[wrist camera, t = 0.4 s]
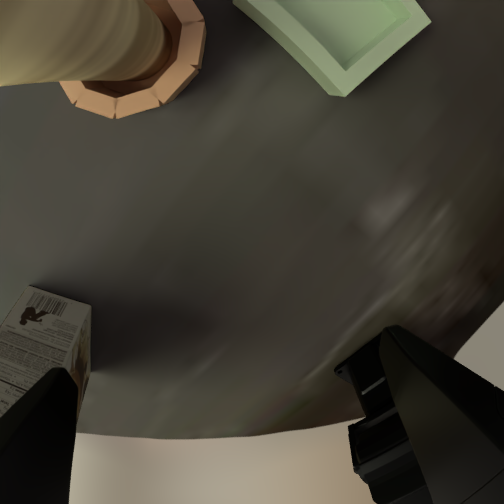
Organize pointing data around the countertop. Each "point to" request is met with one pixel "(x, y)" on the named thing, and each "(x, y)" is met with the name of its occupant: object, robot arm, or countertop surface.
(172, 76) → the holder
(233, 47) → the countertop surface
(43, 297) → the coffee box
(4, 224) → the countertop surface
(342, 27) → the tray
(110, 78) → the dowel
